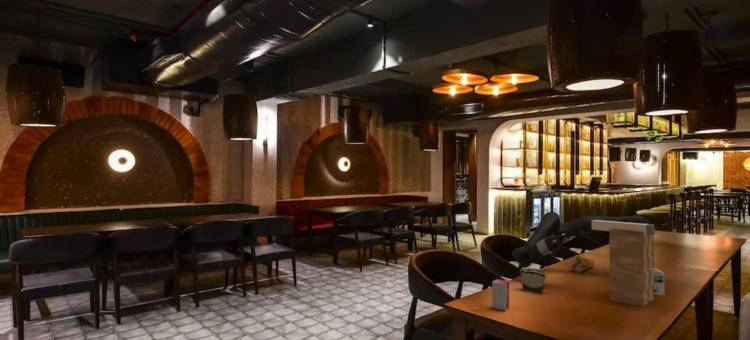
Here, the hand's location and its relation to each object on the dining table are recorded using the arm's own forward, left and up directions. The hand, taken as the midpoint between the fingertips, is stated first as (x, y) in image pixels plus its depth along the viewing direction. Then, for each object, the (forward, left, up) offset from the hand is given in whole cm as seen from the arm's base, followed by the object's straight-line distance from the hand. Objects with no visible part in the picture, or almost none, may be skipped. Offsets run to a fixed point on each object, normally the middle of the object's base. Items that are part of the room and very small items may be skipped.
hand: (577, 231), depth 204 cm
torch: (-47, -16, -28) cm, 57 cm away
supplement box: (+50, -11, -28) cm, 58 cm away
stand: (-4, +22, -28) cm, 36 cm away
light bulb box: (-23, +24, -28) cm, 44 cm away
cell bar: (0, +19, +2) cm, 19 cm away
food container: (+15, -14, -28) cm, 35 cm away
